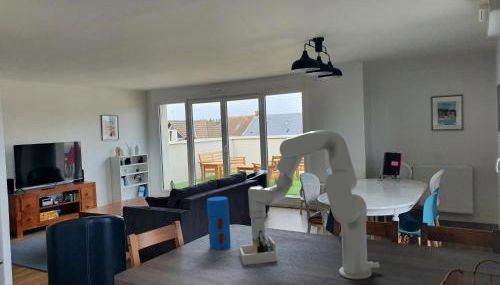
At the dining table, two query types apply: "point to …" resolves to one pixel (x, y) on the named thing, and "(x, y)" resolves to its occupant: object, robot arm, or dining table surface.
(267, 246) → the plate
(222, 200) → the thermos
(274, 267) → the dining table surface
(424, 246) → the dining table surface
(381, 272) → the dining table surface
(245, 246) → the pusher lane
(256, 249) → the amber jar
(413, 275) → the dining table surface
